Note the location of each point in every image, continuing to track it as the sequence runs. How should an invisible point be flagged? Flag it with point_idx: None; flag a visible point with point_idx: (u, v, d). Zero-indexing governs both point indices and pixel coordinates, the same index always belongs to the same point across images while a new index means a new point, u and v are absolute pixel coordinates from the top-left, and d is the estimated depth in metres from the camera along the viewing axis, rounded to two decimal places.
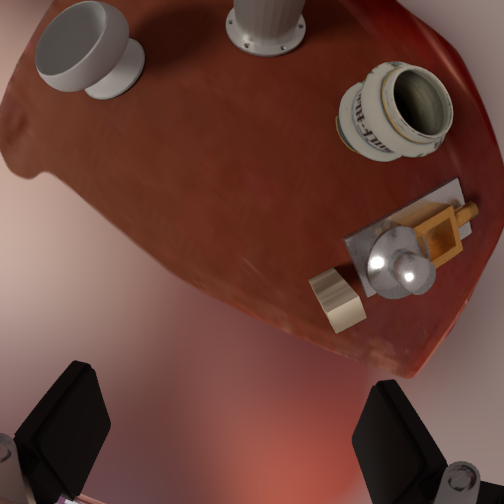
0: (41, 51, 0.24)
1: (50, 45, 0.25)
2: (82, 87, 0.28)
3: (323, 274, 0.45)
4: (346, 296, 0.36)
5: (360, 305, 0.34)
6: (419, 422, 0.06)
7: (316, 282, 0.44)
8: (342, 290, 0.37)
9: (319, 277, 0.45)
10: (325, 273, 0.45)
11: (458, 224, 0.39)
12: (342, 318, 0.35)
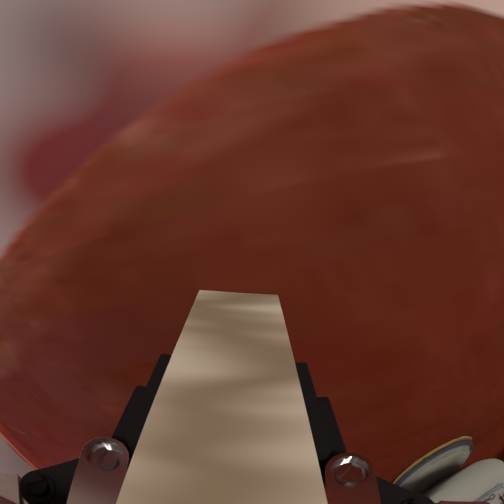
0: None
1: None
2: None
3: None
4: None
5: None
6: (315, 405, 0.07)
7: None
8: None
9: None
10: None
11: None
12: None
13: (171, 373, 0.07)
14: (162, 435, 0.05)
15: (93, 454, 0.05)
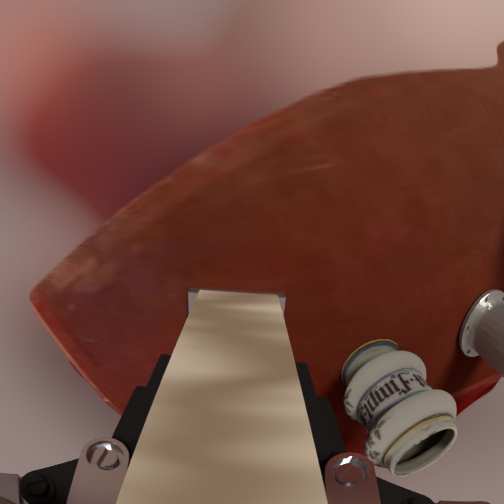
0: None
1: None
2: None
3: None
4: None
5: None
6: (315, 405, 0.07)
7: None
8: None
9: None
10: None
11: None
12: None
13: (171, 373, 0.07)
14: (162, 434, 0.05)
15: (93, 454, 0.05)
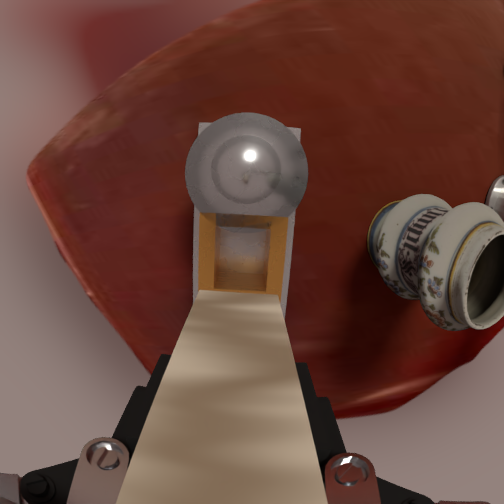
0: None
1: None
2: None
3: None
4: None
5: None
6: (315, 405, 0.07)
7: None
8: None
9: None
10: None
11: None
12: None
13: (171, 373, 0.07)
14: (162, 435, 0.05)
15: (93, 454, 0.05)
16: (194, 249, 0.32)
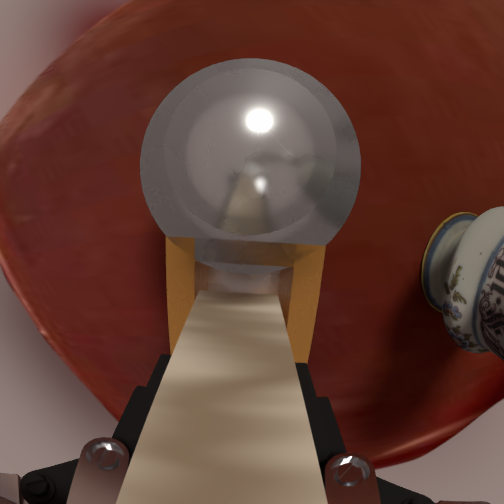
0: None
1: None
2: None
3: None
4: None
5: None
6: (315, 405, 0.07)
7: None
8: None
9: None
10: None
11: None
12: None
13: (171, 373, 0.07)
14: (162, 435, 0.05)
15: (93, 454, 0.05)
16: None
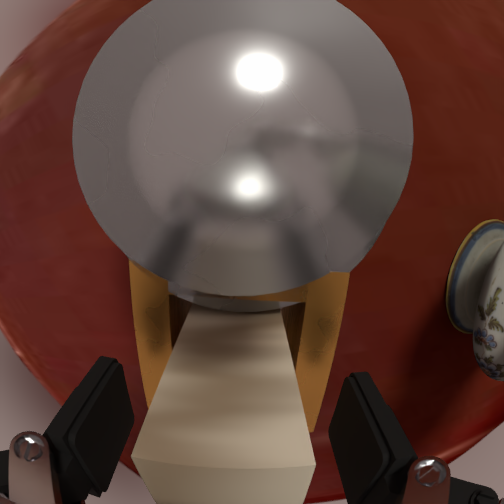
0: None
1: None
2: None
3: None
4: None
5: None
6: (388, 414, 0.06)
7: None
8: None
9: None
10: None
11: None
12: (225, 499, 0.05)
13: (188, 324, 0.10)
14: (184, 359, 0.08)
15: (20, 445, 0.04)
16: None
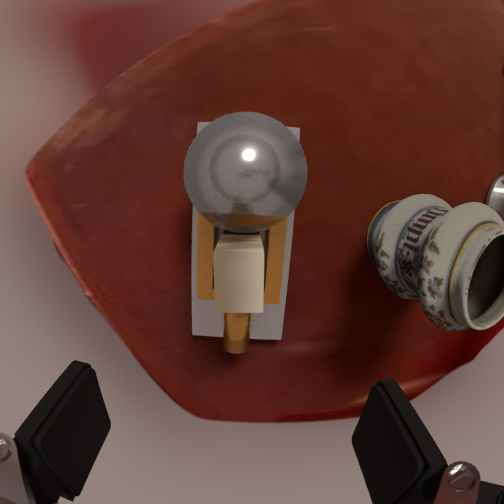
0: None
1: None
2: None
3: None
4: None
5: (244, 310, 0.21)
6: (419, 422, 0.06)
7: None
8: None
9: None
10: None
11: None
12: (238, 273, 0.20)
13: (222, 236, 0.26)
14: (223, 241, 0.23)
15: None
16: (192, 249, 0.32)
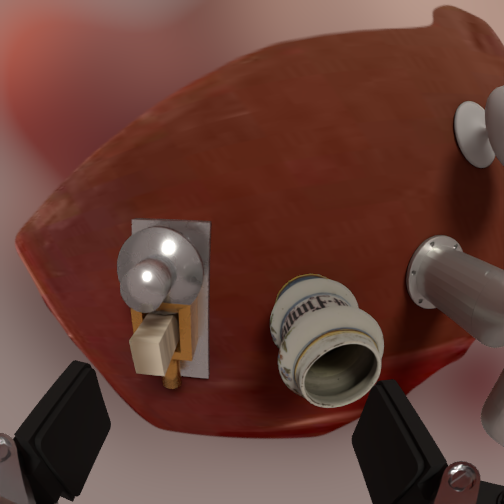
0: None
1: None
2: (491, 101, 0.25)
3: None
4: (165, 360, 0.31)
5: (153, 373, 0.30)
6: (419, 422, 0.06)
7: None
8: (169, 352, 0.33)
9: None
10: None
11: None
12: (145, 353, 0.29)
13: (146, 317, 0.34)
14: (142, 325, 0.32)
15: None
16: None
